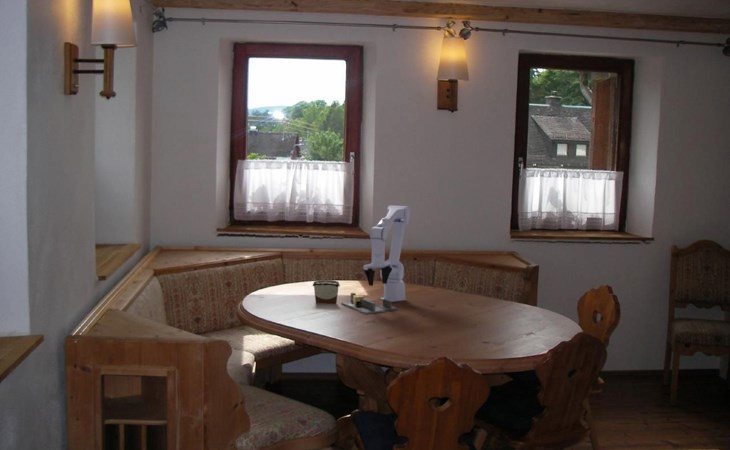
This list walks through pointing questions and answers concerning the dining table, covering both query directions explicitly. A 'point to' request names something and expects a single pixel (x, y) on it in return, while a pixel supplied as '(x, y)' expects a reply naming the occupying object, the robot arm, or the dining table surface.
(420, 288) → the dining table surface
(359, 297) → the clip
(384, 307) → the grey finned base plate
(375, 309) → the rail
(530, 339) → the dining table surface
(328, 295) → the food container
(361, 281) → the dining table surface
